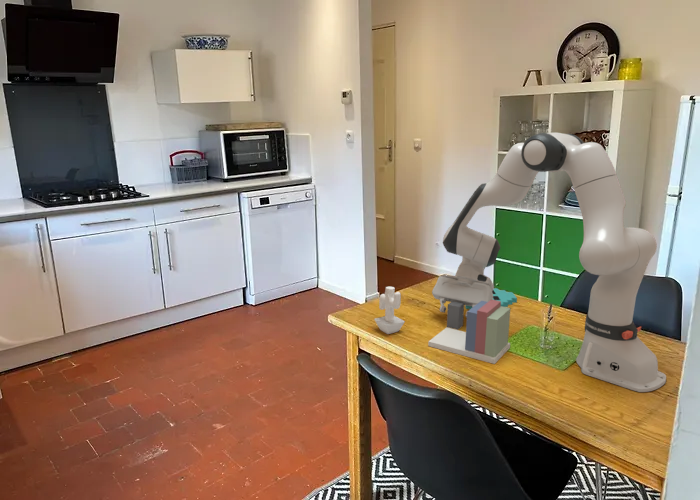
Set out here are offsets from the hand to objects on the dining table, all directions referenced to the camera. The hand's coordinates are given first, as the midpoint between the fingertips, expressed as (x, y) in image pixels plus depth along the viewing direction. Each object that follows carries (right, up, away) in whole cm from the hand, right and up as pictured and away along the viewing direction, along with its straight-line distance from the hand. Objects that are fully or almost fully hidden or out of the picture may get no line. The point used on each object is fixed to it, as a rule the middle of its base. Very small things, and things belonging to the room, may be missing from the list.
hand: (454, 314), depth 175 cm
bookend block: (0, -4, +2) cm, 4 cm away
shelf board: (+2, -8, -14) cm, 16 cm away
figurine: (-22, -5, -1) cm, 22 cm away
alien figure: (+18, +2, +27) cm, 32 cm away
